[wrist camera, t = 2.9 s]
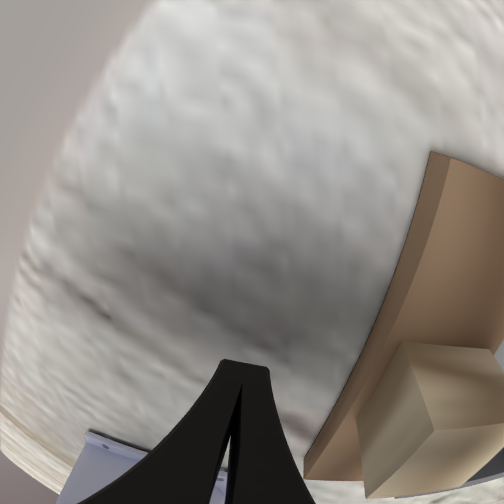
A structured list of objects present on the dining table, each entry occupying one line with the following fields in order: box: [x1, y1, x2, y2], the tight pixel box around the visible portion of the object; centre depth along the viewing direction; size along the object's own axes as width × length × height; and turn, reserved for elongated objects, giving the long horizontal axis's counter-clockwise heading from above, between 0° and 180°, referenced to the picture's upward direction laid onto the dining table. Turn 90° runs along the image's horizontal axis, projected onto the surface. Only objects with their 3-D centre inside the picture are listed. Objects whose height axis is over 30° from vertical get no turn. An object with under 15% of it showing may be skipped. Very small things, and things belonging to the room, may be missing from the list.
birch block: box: [356, 341, 504, 499], centre depth 8 cm, size 4×4×4 cm
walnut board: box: [303, 152, 504, 481], centre depth 10 cm, size 5×15×1 cm, turn 171°
